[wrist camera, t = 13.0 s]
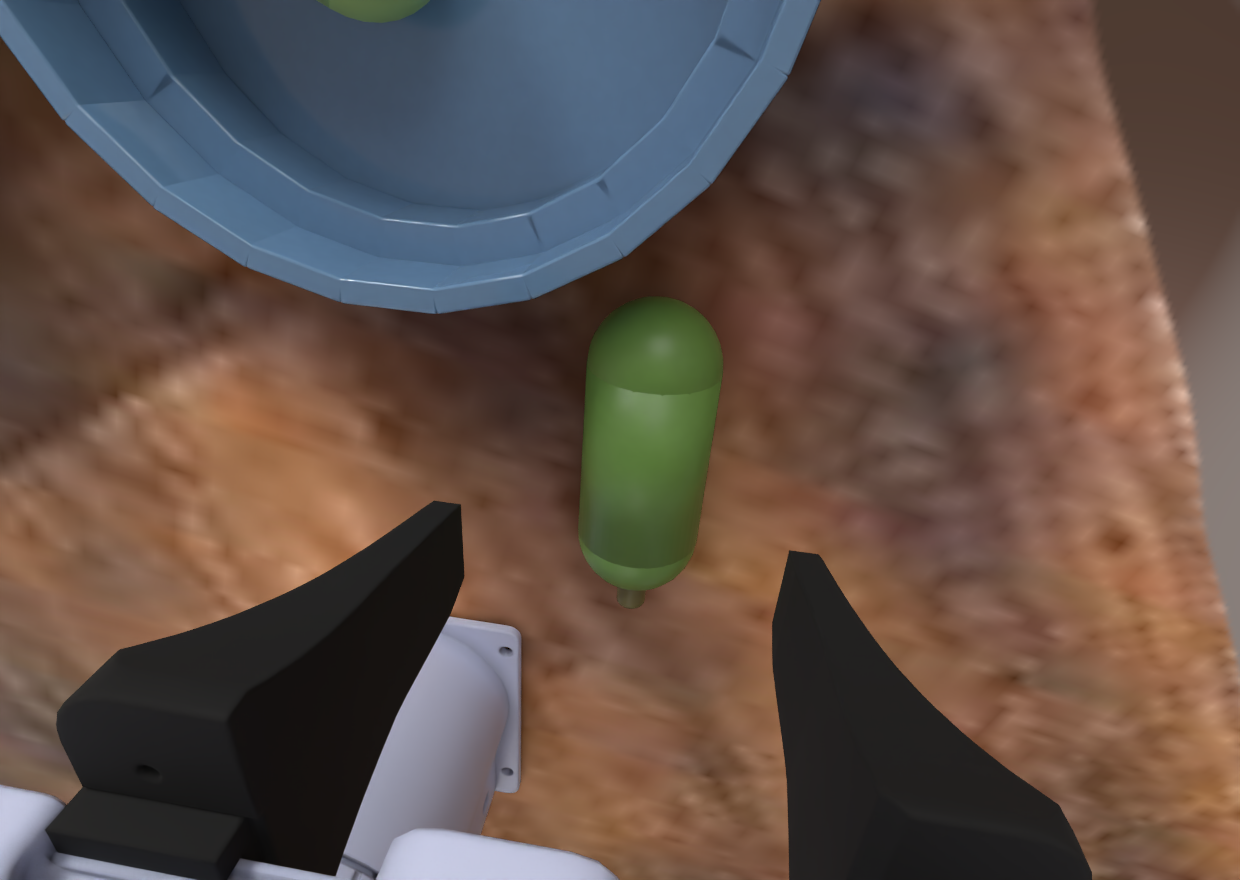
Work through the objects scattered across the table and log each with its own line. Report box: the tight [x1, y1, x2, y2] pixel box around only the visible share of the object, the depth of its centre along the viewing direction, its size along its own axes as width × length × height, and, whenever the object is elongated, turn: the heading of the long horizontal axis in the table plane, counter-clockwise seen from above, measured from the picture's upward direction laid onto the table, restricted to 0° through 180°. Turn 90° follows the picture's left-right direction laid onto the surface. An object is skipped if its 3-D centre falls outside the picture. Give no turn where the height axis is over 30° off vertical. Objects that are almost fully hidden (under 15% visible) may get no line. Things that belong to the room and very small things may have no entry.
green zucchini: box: [578, 296, 723, 609], centre depth 20 cm, size 10×4×4 cm, turn 175°
